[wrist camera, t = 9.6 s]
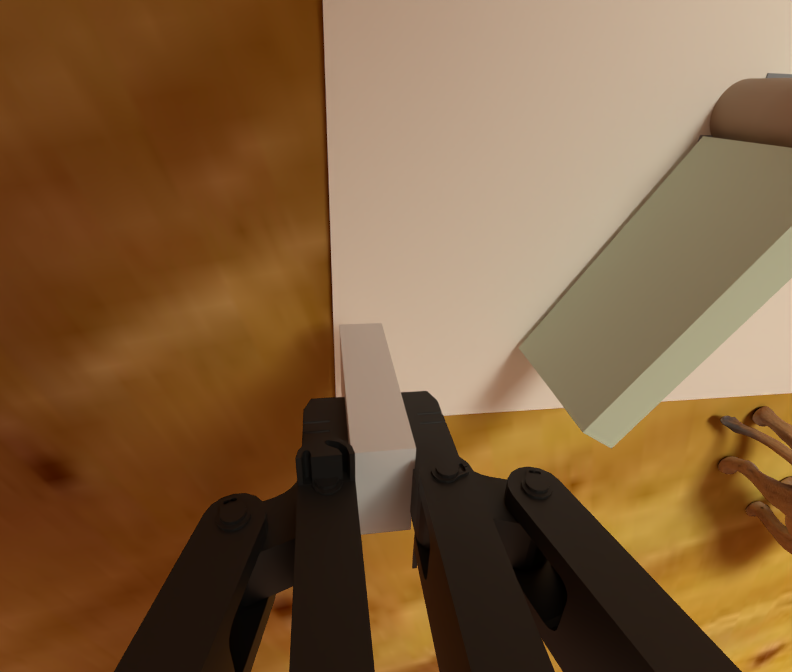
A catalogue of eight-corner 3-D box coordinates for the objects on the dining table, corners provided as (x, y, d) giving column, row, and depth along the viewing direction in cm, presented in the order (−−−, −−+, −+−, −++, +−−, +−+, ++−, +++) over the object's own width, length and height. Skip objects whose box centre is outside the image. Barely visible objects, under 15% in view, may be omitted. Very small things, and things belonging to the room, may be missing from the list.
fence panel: (518, 347, 21) (582, 432, 16) (703, 136, 18) (861, 156, 13) (542, 362, 22) (611, 448, 17) (725, 160, 18) (885, 190, 13)
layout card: (314, -244, 12) (314, -252, 12) (1204, -117, 17) (1221, -121, 16) (336, 418, 23) (336, 423, 22) (880, 383, 27) (886, 387, 27)
